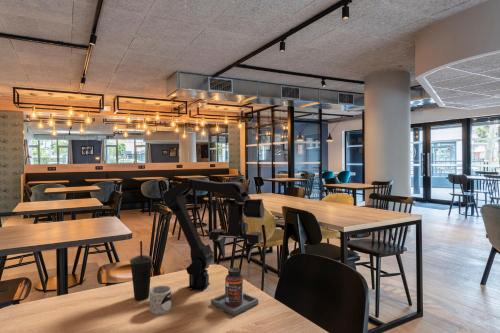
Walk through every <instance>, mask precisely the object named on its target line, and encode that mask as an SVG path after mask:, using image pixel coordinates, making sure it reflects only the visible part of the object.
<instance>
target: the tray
mask: <svg viewBox="0 0 500 333" xmlns="http://www.w3.org/2000/svg"><path fill="white" fill-rule="evenodd" d="M210 305H211V306H212V307H214V308H217V309H218V310H220V311H222V312H224V313H226V314H227V315H230V316H232V317H233V318H234V317H237V316H238V315H241V314H243V313H244V312H246V311H249V310H250V309H252V308H254V307H256V306H258V305H259V298H257V297H255V296H252V295H250V294H248V293H245V292H243V302H242V304H240V305H238V306H230V305H228V304H226V302H225V293H224V294H221V295H219V296H216V297H214V298H211V299H210Z"/></svg>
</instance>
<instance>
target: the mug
mask: <svg viewBox="0 0 500 333" xmlns="http://www.w3.org/2000/svg"><path fill="white" fill-rule="evenodd" d="M171 310H172V287H171V285H157V286H154V287H151V288H150V291H149V312H150V314H151V315H153V316H162V315H165V314H168V313H169V312H170V311H171Z"/></svg>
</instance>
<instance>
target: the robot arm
mask: <svg viewBox="0 0 500 333" xmlns="http://www.w3.org/2000/svg"><path fill="white" fill-rule="evenodd" d="M192 190H196V191H201V192H208V193H214V194H215V193H216V194H218V195H220V196H222V197H225V199H224V200H223V201H222V202H221V205H227V209H226V210H227V214H226V215H227V220H226V223H225V224H227V231H226V232H225V229H222V228H215V229H213V230H211V231H210V232H209V234H208V237H209V238H208V240H210V241H212V243H214V244H215V245H216V247H217V249H218V250H219V253H220V255H221V257H222V259H225V257H226V248H225V247H226V245H225V241H226V239H237V240H238V239H239V240H247V243H246V251H245V252H246V254H245V259H246V261H247V262H249V259H250V257H251V254H252V251H253V248H254V247H255V246H256V245H257V244H259V243H260V242H261V241H262V240H263V234H262V232H260V231H250V232H249V233H248V228H249V223H247V222H245V218H244V216H245V217H246V218H251V219H264V216H265V205H264V202H263V198H256V199H255V198H251V197H250V196H249V194H248V192H247V191H246V189H245V185H244V183H243V182H241V181H227V182H225V181H224V182H219V181H218V182H217V181H213V180H205V179H199V178H193V177H188V178H187V177H186V178H184V179H183V180H182V181H181V182H179V183H178V184H176V185H175V186H174V187H172V188H171V189H168V190H166V191H164V193H163V196H162V200H163V202H164V204H165V205H166V207H167V208H168V210H170V212H171V213H173V214H174V216H175V217H176V220H177V222H178V224H179V226H180V229H181V231H182V234H183V235H184V238H185V240H186V242H187V243H188V246H189V248H190V252H189V254H190V260H191V263H190V264H189V265H188V266H187V267H186V268H185V269H186V273H187V275H188V283H189V284H188V286H187V287H186V289H188V290H193V291H194V290H195V291H201V292H202V291H204V290H205V289H206V288H207V287H208V286H209V285H210V278H209V276H210V275H209V274H208V272H209V270H208V268H209V267H210V265H211V264H212V263H213V260H214V252H213V250H212V248H211V244H209V243H208V244H205V243H204V242H203V241H202V239H201V237H200V235H199V232H198V230H197V228H196V227H195V224H194V222H193V220H192V217H191V215H190V214H189V211H188V209H187V198H186V196H187V195H188V194H189V193H190V192H191V191H192Z"/></svg>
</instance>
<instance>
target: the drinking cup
mask: <svg viewBox="0 0 500 333" xmlns="http://www.w3.org/2000/svg"><path fill="white" fill-rule="evenodd" d="M139 253H140V254H139V255H137V256H134V257H132V258H130V259H129V263H130V269H131V278H132V287H133V298H134V300H135V301H138V302H141V301H142V302H143V301H145V300H148V299H150V292H149V291H150V289H151V288H150V287H151V276H152V266H153V265H152V263H153V260H154V259H153V258H154V257H152V256H149V255H145V254H143V241H142V240H140V241H139Z"/></svg>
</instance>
